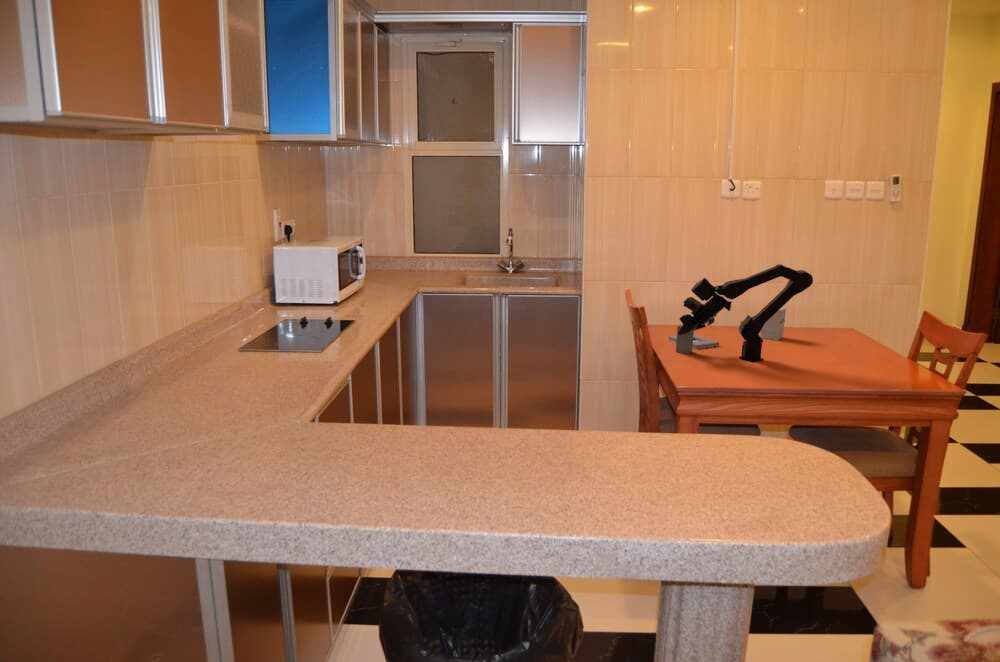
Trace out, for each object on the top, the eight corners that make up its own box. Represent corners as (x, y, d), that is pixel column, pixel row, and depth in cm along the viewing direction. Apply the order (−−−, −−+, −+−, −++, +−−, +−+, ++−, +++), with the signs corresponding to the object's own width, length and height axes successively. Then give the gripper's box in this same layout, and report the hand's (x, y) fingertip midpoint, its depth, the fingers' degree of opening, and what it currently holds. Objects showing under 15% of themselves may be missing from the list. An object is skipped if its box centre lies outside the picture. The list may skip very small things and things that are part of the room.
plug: (692, 351, 298) (694, 322, 295) (686, 353, 294) (688, 324, 292) (681, 349, 301) (683, 320, 298) (675, 351, 297) (677, 322, 295)
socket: (718, 346, 308) (719, 342, 308) (695, 348, 303) (695, 345, 302) (691, 337, 322) (691, 334, 322) (668, 340, 316) (668, 336, 316)
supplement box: (777, 340, 320) (780, 310, 318) (759, 337, 325) (762, 308, 322) (783, 337, 326) (786, 307, 323) (766, 335, 331) (768, 305, 328)
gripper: (709, 288, 297) (680, 313, 306) (686, 294, 283) (657, 319, 292) (727, 311, 294) (697, 335, 303) (704, 318, 280) (674, 343, 289)
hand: (681, 333), depth 297 cm, fingers closed on plug, 4 cm apart
